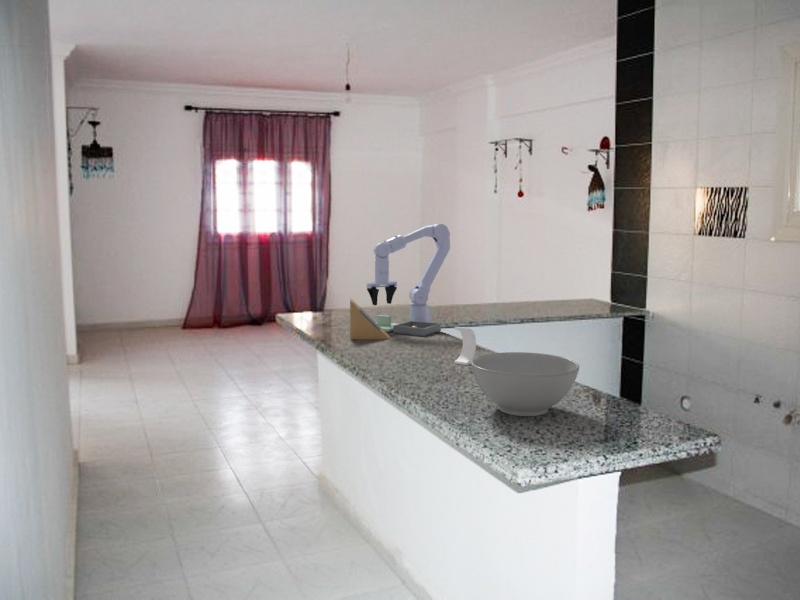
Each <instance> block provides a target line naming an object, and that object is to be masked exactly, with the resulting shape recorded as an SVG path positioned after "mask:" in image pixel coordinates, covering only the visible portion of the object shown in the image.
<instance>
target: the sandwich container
mask: <svg viewBox="0 0 800 600" xmlns="http://www.w3.org/2000/svg"><path fill="white" fill-rule="evenodd" d="M349 302H350V303H349V308H350V312H349V315H350V316H349V321H350V323H349V325H350V326H349V327H350V331H349V333H350V336H349V337H350V340H390V339H391V336H390V335H389V334H388V332H385V331H384V330H383V329H382V328H381V327H380V326H379V325H378V324H377V323H376V322H377V321H375V320H374V319H373V318H372V317H370V315H369V314H368V313H366V312H365V311H364V310H363V308H361V307H360V305H358V304H357V302H356V301H355V300H354V299H352V298H350V301H349Z"/></svg>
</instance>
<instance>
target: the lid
mask: <svg viewBox="0 0 800 600" xmlns="http://www.w3.org/2000/svg"><path fill="white" fill-rule="evenodd" d="M375 322H376V323H377V324H378V325H379V326H380V327H381V328H382V329H383V330H384V331H385V332H386V333H391V332H393V326H394V325H397V324H399V323H397V322H396V323H395V322H392V316H391V315H386V314H385V315H384V314H377V315H376V321H375Z"/></svg>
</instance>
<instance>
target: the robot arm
mask: <svg viewBox="0 0 800 600" xmlns="http://www.w3.org/2000/svg"><path fill="white" fill-rule="evenodd" d="M424 237H429V238H432V239H433V241H434V244H435V245H436V249H435V251H434V252H433V255H432V257H431V259H430V261H429V263H428V264H427V266H426V268H425V271H424V272H423V274H422V276H421V278H420V279H419V281H418V282H417V283H416V285H415V286H414V288H412V289H411V290H410V292H409V299H410V301H411V302H410V303H409V321H417V322H428V323H432V322H431V321H432V320H431V314H432V313H431V312H432V311H431V307H430V305H428V303H427V302H428V299H429V293H430V292H431V286H432V284H433V282H434V281H435V278H436V276H437V275H438V273H439V271H440V268H441V267H442V266H443V263H444V261H445V259H446V257H447V255H448V254H449V252H450V249H451V243H450V242H451V240H450V239H451V238H450V237H451V233H450V231H449V228H448V226H447V225H445V224H444V223H437V222H436V223H433V224H430V225H426V226H423V227H421V228H419V229H417V230H414V231H412V232H410V233H408V234H406V235H401V234H398V235H397V234H394V235H393V237H391V238H389V239H384V240H383V242H379V243H376V245H375V246H374V249H373V252H374V254H375V257H374V259H375V260H374V282H368V283H367V282H366V290H367V293H368V294H369V296H370V299H371V303H372V306H378V296H379V291H380V289H379V288H384V290H385V295H386V299H385V300H386V304H388V305H389V304H390V305H391V304H392V301H393V298H394V295H395V293H396V291H397V289H398V288H397V286H398V285H397V284H398V283H397V281H395V280H391V281H390V280H389V279H390V274H389V273H390V269H389V268H390V266H389V265H390V261H389V255H390V254H393V253H396V252H398V251H400V250H403V249H404V248H406V247H407V244H409V243H412V242H414V241H416V240H419V239H421V238H424Z"/></svg>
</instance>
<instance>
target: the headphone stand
mask: <svg viewBox="0 0 800 600" xmlns="http://www.w3.org/2000/svg"><path fill="white" fill-rule="evenodd" d="M454 330H456V331H457V330H458V332H460V335H461V336H462V347H461V352H460V354H459V357H458V358H457V359H456V360H454V363H453V364H454V365H455V364H456V365H461V366H469V365H471V361H472V359H474V358H475V357H474V356H475V354H476V350H477V338H476V334H475V332H474V330H473V329H471V328H469V327H463V326H462V327H461V326H455V327H454Z"/></svg>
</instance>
